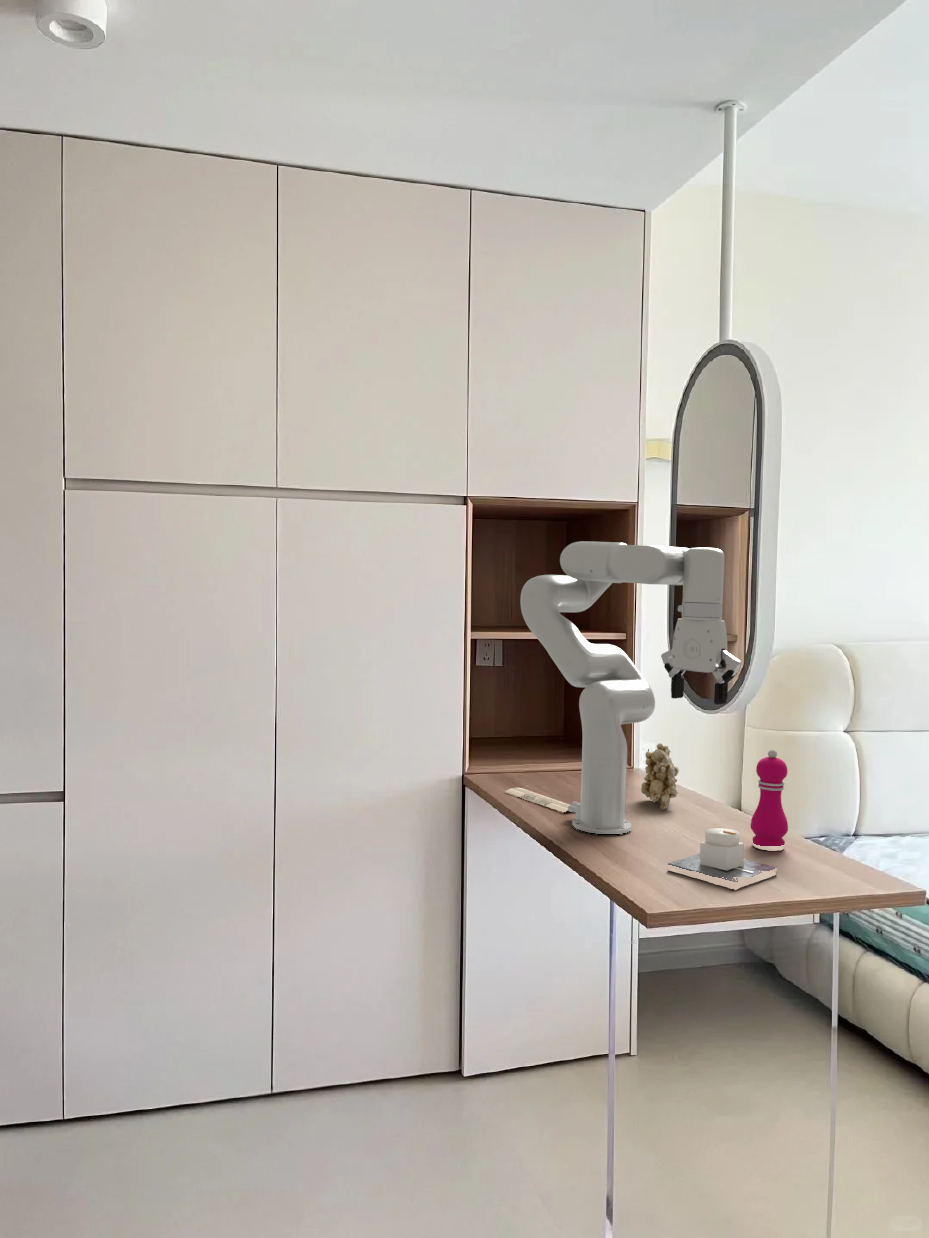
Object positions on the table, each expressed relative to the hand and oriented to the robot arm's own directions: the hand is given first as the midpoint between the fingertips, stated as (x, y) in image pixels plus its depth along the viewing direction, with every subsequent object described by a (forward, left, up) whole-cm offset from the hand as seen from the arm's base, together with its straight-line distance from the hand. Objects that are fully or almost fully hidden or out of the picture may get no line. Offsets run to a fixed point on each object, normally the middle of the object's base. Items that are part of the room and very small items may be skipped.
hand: (698, 700), depth 188 cm
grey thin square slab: (+10, -5, -30) cm, 32 cm away
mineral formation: (-29, +30, -31) cm, 52 cm away
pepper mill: (+6, +18, -31) cm, 36 cm away
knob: (+10, -5, -29) cm, 31 cm away
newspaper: (-48, +9, -31) cm, 58 cm away
